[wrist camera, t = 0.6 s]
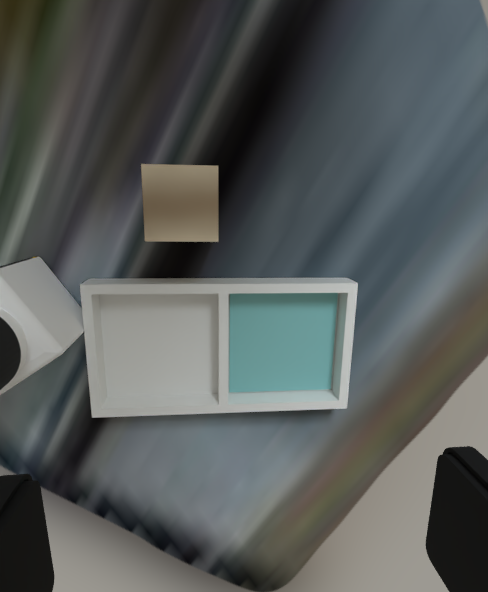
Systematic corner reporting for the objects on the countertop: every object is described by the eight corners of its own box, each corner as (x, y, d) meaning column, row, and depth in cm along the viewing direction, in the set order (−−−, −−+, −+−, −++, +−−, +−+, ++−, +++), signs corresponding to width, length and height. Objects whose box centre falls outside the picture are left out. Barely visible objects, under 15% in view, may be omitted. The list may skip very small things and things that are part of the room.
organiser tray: (89, 278, 31) (79, 284, 29) (347, 277, 33) (358, 283, 31) (100, 402, 34) (92, 417, 32) (337, 394, 36) (346, 408, 34)
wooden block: (154, 171, 30) (141, 163, 24) (216, 173, 30) (218, 165, 25) (156, 234, 31) (145, 241, 25) (216, 235, 32) (218, 241, 26)
